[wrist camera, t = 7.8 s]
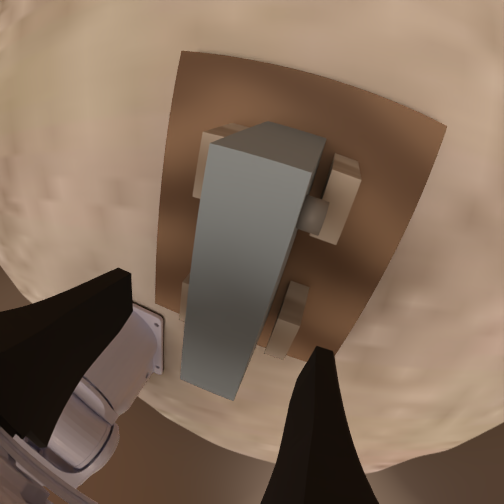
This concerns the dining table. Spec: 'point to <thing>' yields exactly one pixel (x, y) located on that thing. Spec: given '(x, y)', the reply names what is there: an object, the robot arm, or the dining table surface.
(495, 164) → the dining table surface
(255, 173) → the grey block
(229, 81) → the cabinet base
